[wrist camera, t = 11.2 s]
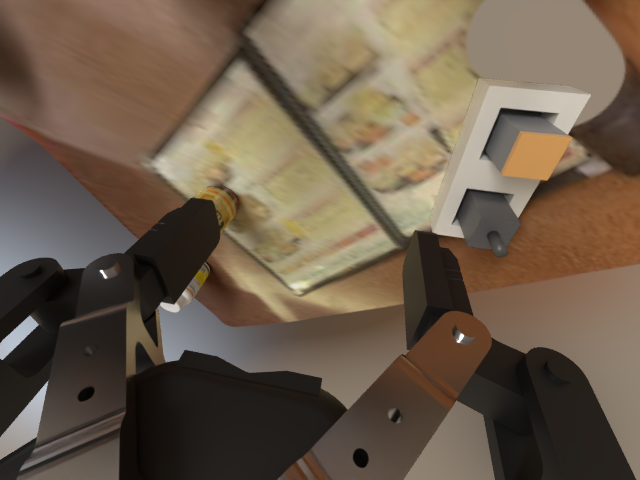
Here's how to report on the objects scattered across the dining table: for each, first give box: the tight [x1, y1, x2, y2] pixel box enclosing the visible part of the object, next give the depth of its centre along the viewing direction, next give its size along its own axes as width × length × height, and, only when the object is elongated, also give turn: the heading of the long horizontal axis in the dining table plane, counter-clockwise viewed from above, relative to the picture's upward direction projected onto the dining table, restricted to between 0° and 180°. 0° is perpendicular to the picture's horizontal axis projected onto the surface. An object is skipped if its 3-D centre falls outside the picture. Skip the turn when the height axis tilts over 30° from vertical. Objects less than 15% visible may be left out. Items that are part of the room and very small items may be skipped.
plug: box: [484, 109, 572, 180], centre depth 29 cm, size 4×4×8 cm
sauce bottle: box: [194, 185, 239, 233], centre depth 39 cm, size 6×6×20 cm
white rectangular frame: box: [430, 78, 591, 257], centre depth 31 cm, size 18×9×12 cm, turn 177°
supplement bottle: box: [160, 262, 210, 312], centre depth 54 cm, size 6×6×10 cm
